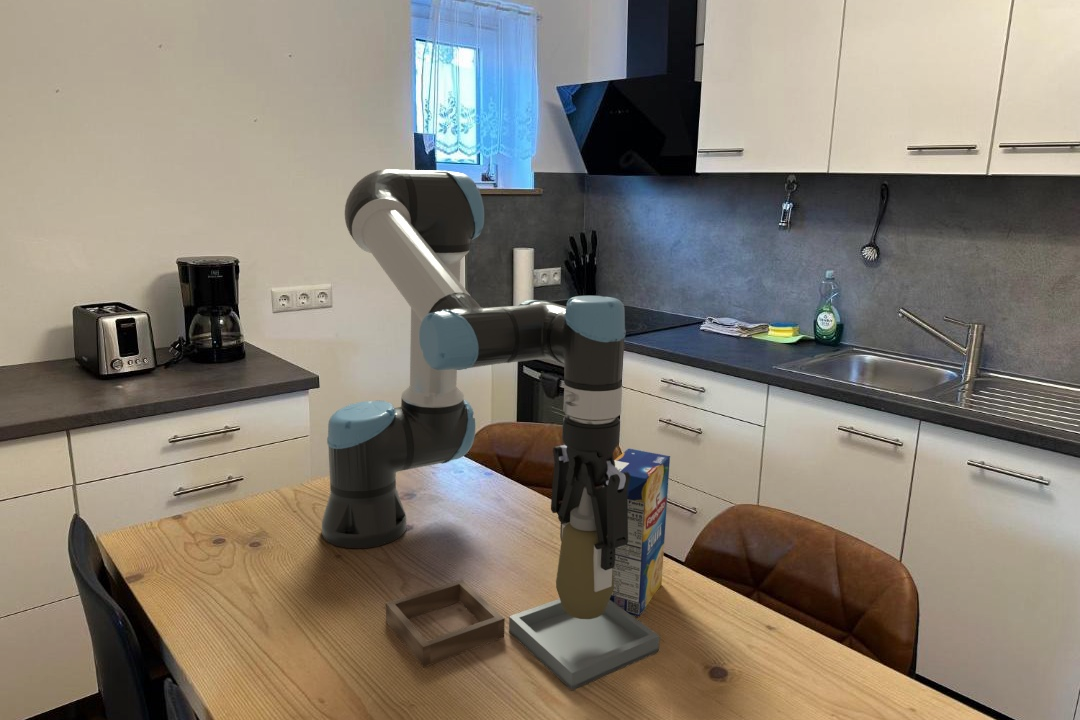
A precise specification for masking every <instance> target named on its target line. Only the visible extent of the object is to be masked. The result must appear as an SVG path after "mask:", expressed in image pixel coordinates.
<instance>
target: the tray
mask: <svg viewBox="0 0 1080 720" xmlns="http://www.w3.org/2000/svg"><path fill="white" fill-rule="evenodd" d="M508 619H509V620H508V633H509V634H511V636H513V638H515V639H516V640H517V641H518V642H519V643H520V644H521V645H523V647H524V648H525V649H527V650H528V652H529V653H531V655H533V656H534V657H535V658H536V659H537V660H538V661H539V662H541V664H543V666H545V667H546V668H547V669H548V670H549V671H550V672H551V673H552V674H553V675H554V676H556V678H557V679H559V680H560V682H562V683H563V684H564V685H565V686H566V687H567V688H568V689H569V690H570V691H573V690H576V689H578V688H581V687H583V686H585V685H587V684H589V683H591V682H595V681H596V680H599V679H601V678H603V677H606V676H608V675H610V674H612V673H615V672H617V671H619V670H621V669H623V668H625V667H627V666H630V665H633V664H634V663H637V662H640V661H641V660H644V659H646V658H648V657H651V656H654V654H657V653H659V652H660V638H661V636H660V635H659V634H658V633H657V632H655V631H654V630H652V629H651V628H649V627H648V626H647V625H646V624H644V623H643V622H641V621H640V620H639V619H638V618H636V617H635V616H633V615H630V614H629V613H627V612H626V611H625V610H623V609H622V608H620V607H619V606H618V605H616V604H615V603H614V602H612V601H611V600H609V602H608V604H607V607H606V609H605V611H604V613H603V614H602V615H601V616H599V617H597V618H593V619H579V618H575V617H572V616H570V615H568V614H567V613H566V612H565V611H564V610H563V607H562V604H561V601H560V598H558V599H554V600H552V601H549V602H546V603H544V604H541V605H538V606H535V607H532V608H529V609H527V610H523V611H521V612H517V613H514V614H512V615H509V616H508Z"/></svg>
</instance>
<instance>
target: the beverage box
mask: <svg viewBox="0 0 1080 720" xmlns="http://www.w3.org/2000/svg"><path fill="white" fill-rule="evenodd" d="M614 461H615V467H616V468H617V469H618V470H619V471H620V472H621V473H623V472H628V473H629V474H630V482H629V486H628V489H627V499H628V543H627V544H626V545H623V546H620V547H617V548H616V549H615V565H614V568H613V579H614V590H613V592H612V595H611V597H610V600H611V601H612V602H614V603H615V604H616V605H618V606H619V607H620V608H622V609H623V610H625V611H626V612H627V613H629V614H630V615H632V616H633V617H635V618H636V617H637V618H640V616H641V615H642V613H643V612H644V611H645V609H646V607H647V606H648V605H649V603H650V601H651V600H652V598H653V597H654V596H655V594H656V593H657V591H658V590H659V588H660V587H661V586H662V581H663V568H664V552H665V537H666V536H665V535H666V523H667V509H668V508H667V507H668V491H669V490H668V489H669V480H670V479H669V477H670V462H671V456H669V455H665V454H661V453H656V452H649V451H645V450H639V449H633V448H627V449H626V450H625V451H623V453H621V454H619V456H618V457H616V458H615V459H614ZM603 485H604V484H603ZM603 485H601V487H602V486H603Z"/></svg>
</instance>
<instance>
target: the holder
mask: <svg viewBox="0 0 1080 720" xmlns="http://www.w3.org/2000/svg"><path fill="white" fill-rule="evenodd" d="M456 603H460V604H461V605H462V606H463V607H464V608H465V609H466V610H467V611H468V612H469V613H470V614H471V615H472V616H473V617H474V618H475V619H477V620H478V622H476V623H474V624H470V625H468V626H465V627H462V628H460V629H457V630H453V631H451V632H448V633H445V634H443V635H440V636H436V637H434V638H431V639H429V640H427V639H426V638H425V637H424V636H423V635H422V633H421V632H420V631H419V630H418V629H417V627H416V626H414V624H413V623H412V622H411V620H409V619H411V618H414V617H418V616H420V615H424V614H426V613H430V612H433V611H436V610H438V609H441V608H444V607H445V608H446V607H448V606H451V605H454V604H456ZM385 620H386V623H387V624H388V626H390V628H391V629H392V630H393V632H394V633H395V634H396V635H397V636H398V638H399V639H400V640H401V642H402V643H403V644H404V645H405V646H406V648H407V649H408V650H409V652H410V653H411V654H412V655H413V656H414V658H415V659H416V660H417V661H418V662H419V665H421V666H422V667H423V668H425V667H429V666H431V665H433V664H436V663H439V662H442V661H444V660H447V659H450V658H452V657H453V658H454V657H455V656H458V655H461V654H463V653H466V652H468V651H472V650H473V649H477V648H480V647H482V646H485V645H488V644H490V643H493V642H496V641H498V640H501V639H503V638H505V621H506V619H505V617H504V616H503V615H502V614H501V613H499V612H498V611H497V610H496V608H494V607H493V606H492V605H491V604H490V603H488V601H486V600H485V599H484V598H483V597H482V596H481V595H480V594H478V593H477V592H476V591H475V589H473V588H472V587H471V586H470V584H468V583H467V582H465V580H464V579H459V580H456V581H453V582H450V583H446V584H444V585H443V584H442V585H439V586H437V587H434V588H433V587H432V588H430V589H426V590H424V591H420V592H417V593H414V594H410V595H407V596H404V597H400V598H397V599H393V600H391V601H388V602H385ZM487 643H488V644H487ZM479 646H480V647H479Z"/></svg>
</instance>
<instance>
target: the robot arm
mask: <svg viewBox="0 0 1080 720" xmlns="http://www.w3.org/2000/svg"><path fill="white" fill-rule="evenodd" d="M344 207H345V208H344V220H345V225H346V229H347V231H348V233H349V235H350V237H351V238H352V239H353V241H354V242H355V244H356V245H357V246H358V247H359V248H360V249H361V250H363V251H364V252H367V253H369V254H371V255H372V256H373V258H374V259H375V260H376V262H377V263H378V265H379V266H380V267H381V269H383V271H384V272H385V274H386V275H387V276H388V278H389V279H390V281H391V282H392V283H393V285H394V286H395V287H396V289H397V290H398V291H399V293H400V295H402V297H403V299H404V300H405V301H406V303H407V304H408V305H409V307H410V348H409V349H410V352H409V353H410V357H409V358H410V359H409V360H410V361H409V367H410V368H409V385H408V386H407V388H406V389H405V390H403V391H402V393H401V403H400V406H399V407H394V405H393V404H392V403H390V402H389V401H385V400H373V401H372V400H366V401H360V402H356V403H352V404H350V405H345V406H344V407H342V408H340V409H338V410H337V411H335V412H334V413H333V414H332V415H331V416H330V418H329V420H328V424H327V425H328V428H327V429H328V430H327V439H326V444H327V446H328V462H329V463H328V465H329V466H328V467H329V486H330V487H329V488H330V493H329V497H328V500H327V504H326V507H325V510H324V514H323V516H322V521H321V532H322V533H321V535H322V537H323V539H324V540H325V541H326V542H327V543H329V544H331V545H333V546H336V547H339V548H346V549H368V548H375V547H378V546H383V545H386V544H389V543H392V542H394V541H395V540H397V539H399V538H400V537H402V536H403V534H405V532H406V530H407V515H406V511H405V509H404V506H403V503H402V500H401V498H400V495H399V492H398V490H397V473H398V472H403V471H408V470H411V469H412V470H413V469H417V468H423V467H427V466H434V465H438V464H447V463H449V462H451V461H454V460H455V461H456V460H458V459H461V458H463V457H464V456H465V455H467V454H468V452H469V451H470V450H471V449H472V446H473V444H474V441H475V436H476V418H475V417H474V414H475V413H474V410H473V407H472V405H471V404H470V402H469V401H468V400H466V399H465V394H464V393H463V392H462V391H461V389H459V388H458V386H457V380H458V379H457V377H458V376H457V375H458V371H461V370H467V369H471V368H472V369H473V368H479V367H485V366H487V367H488V366H493V365H499V364H505V363H506V364H510V363H517V362H518V363H519V362H527V361H534V360H540V359H542V360H543V359H546V360H552V361H555V362H557V363H560V364H564V369H563V371H564V374H563V375H564V376H563V384H564V386H563V387H564V389H563V390H564V391H563V413H564V414H565V415H564V416H563V418H562V429H561V430H562V433H561V434H562V435H561V436H562V437H561V441H562V442H563V444H562V445H558V446H553V449H552V452H553V463H554V465H553V466H554V467H553V479H552V488H551V490H552V491H551V502H550V510H551V512H552V513H553V514H557V515H558V517H557V518H558V521H559V522H560V535H559V537H560V542H561V541H562V534H563V528H564V527H565V526H566V525H567V524H568V523H570V512H571V511H572V510H573V509H574V508H576V507H579V505H580V501H581V497H582V493H583V490H584V487H585V486H586V489H587V494H588V495H589V496H591V500H592V506H593V512H594V518H595V524H596V530H597V536H598V542H599V543H597V544H594V558H593V559H594V591H595V592H597V591H600V590H603V589H606V588H609V587H611V586H612V568H614V565H615V549H616V548H617V547H620V546H623V545H626V544H627V543H628V499H627V489H628V486H629V482H630V474H629V473H628V472H623V473H621V472H620V471H619V470H618V469H617V468H616V467H615V461H614V460H615V459H614V458H615V457H614V451H615V450H616V448H617V447H618V446H619V444H620V436H621V435H620V434H621V433H620V432H621V419H620V418H619V416H621V415H622V400H623V399H622V397H623V396H622V394H623V393H622V392H623V367H624V355H625V354H624V351H625V338H626V333H627V330H626V323H625V322H626V319H625V318H626V315H625V312H626V311H625V305H624V303H623V302H622V301H621V300H620V299H618V298H617V297H616V298H615V297H610V296H602V295H578V296H577V295H576V296H573V297H571V298H569V299H568V300H567V302H566V306H565V305H561V304H558V303H555V302H552V301H550V300H546V299H543V300H542V299H541V300H538V299H528V300H525V301H523V302H521V303H519V304H518V305H511V306H510V305H509V306H494V307H493V306H492V307H481V305H480V304H479V303H478V302H477V301H476V299H475V298H473V297H472V296H471V294H470V293H469V292H468V291H467V290H466V288H465V287H464V286H463V285H462V284H461V282H460V281H461V261H462V260H463V258H464V257H465V256H466V255H467V254H468V253H470V249H471V246H470V245H471V244H470V243H471V241H472V240H474V239H476V238H478V237H479V236H480V235H481V233H482V230H483V229H484V225H485V208H484V201H483V197H482V194H481V193H480V190H479V188H478V186H477V185H476V182H475V181H474V180H473V178H471V177H470V176H469V175H467V174H465V173H461V172H457V171H450V170H449V171H448V170H446V169H445V170H430V169H429V170H424V169H423V170H422V169H421V170H420V169H419V170H417V169H415V170H414V169H413V170H411V169H396V168H393V169H392V168H385V169H380V170H376V171H373V172H370V173H369V174H367V175H365V176H364V177H362V178H361V179H360V180H359V181H358V182H356V184H354V186H353V187H352V189H351V190H350V192H349V194H348V196H347V199H346V201H345V205H344ZM603 484H604V485H603ZM602 485H603V486H602ZM606 536H607V537H606Z"/></svg>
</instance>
